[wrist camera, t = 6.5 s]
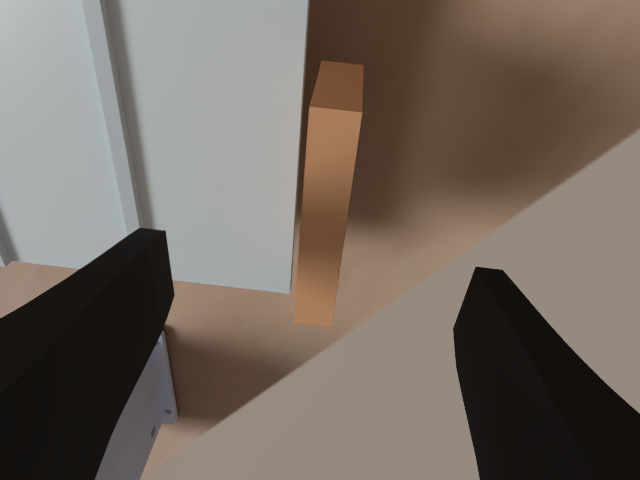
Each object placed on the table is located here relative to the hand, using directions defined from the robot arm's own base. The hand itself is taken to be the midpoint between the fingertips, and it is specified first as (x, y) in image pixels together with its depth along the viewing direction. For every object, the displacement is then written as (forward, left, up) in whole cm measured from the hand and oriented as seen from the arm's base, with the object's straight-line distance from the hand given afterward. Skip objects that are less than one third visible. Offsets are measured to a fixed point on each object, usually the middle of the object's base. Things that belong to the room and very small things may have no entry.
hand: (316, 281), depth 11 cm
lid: (0, +9, -6) cm, 11 cm away
